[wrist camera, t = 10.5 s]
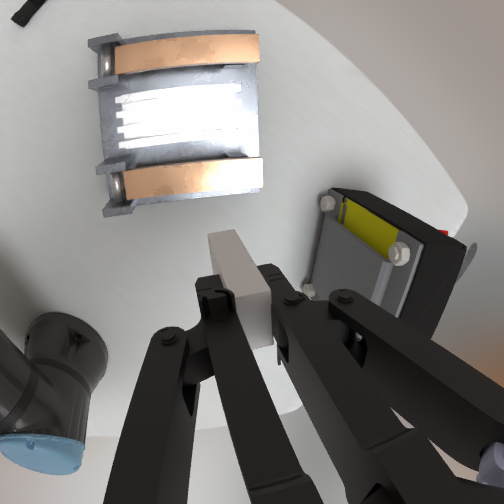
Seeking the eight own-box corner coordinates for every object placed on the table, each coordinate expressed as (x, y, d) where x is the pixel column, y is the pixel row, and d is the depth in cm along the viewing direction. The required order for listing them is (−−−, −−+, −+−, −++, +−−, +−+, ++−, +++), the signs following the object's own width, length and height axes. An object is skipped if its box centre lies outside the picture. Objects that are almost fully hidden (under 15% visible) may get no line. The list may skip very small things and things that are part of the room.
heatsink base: (116, 202, 37) (101, 226, 29) (103, 49, 28) (83, 32, 20) (254, 186, 40) (274, 205, 32) (249, 36, 32) (269, 16, 24)
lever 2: (129, 196, 31) (127, 199, 30) (125, 169, 30) (122, 171, 28) (260, 184, 33) (262, 187, 32) (259, 156, 31) (262, 158, 30)
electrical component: (318, 185, 42) (410, 242, 25) (376, 192, 45) (472, 245, 27) (297, 294, 49) (355, 385, 32) (351, 291, 52) (418, 369, 34)
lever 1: (118, 75, 25) (115, 74, 24) (117, 49, 24) (114, 47, 23) (257, 63, 27) (259, 61, 26) (256, 37, 26) (258, 34, 25)
